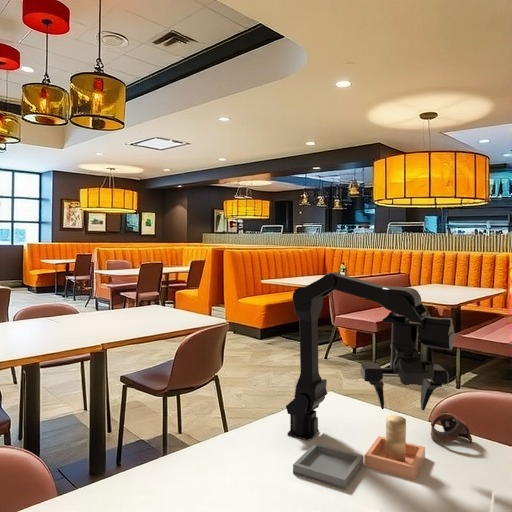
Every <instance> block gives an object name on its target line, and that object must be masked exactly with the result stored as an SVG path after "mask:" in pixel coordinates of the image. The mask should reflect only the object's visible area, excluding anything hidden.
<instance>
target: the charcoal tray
mask: <svg viewBox="0 0 512 512" xmlns="http://www.w3.org/2000/svg"><path fill="white" fill-rule="evenodd" d="M363 465H364V455H363V454H360V453H355V452H352V451H350V450H349V451H348V450H344V449H341V448H337V447H333V446H328V445H326V444H325V445H324V444H322V443H317V442H314V443H313V444H312V445H311V446H310V447H309V448H308V449H307V450H306V451H305V452H304V453H303V454H302V455H301V456H300V457H299V458H298V459H297V460H296V461H295V462H294V463H293V464H292V474H293V475H297V476H300V477H304V478H305V479H309V480H313V481H316V482H319V483H322V484H325V485H329V486H331V487H336V488H338V489H341V490H346V489H347V488H348V486H349V485H350V484H351V482H353V481H352V480H353V479H354V478H355V476H356V475H357V474H358V473H359V471H360V470H361V468H362V467H363Z"/></svg>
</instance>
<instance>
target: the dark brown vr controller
mask: <svg viewBox="0 0 512 512" xmlns="http://www.w3.org/2000/svg"><path fill="white" fill-rule="evenodd" d="M438 422H439V423H440V424H441V425H442V430H443V431H440V430H438V429H436V428H435V427H436V424H438ZM430 425H431V426H430V427H431V429H430V437H431V440H432V441H434V442H439V443H446V442H447V443H450V442H454V441H455V442H456V441H457V442H461V439H460V438H464V439H467V440H468V441H469V443H470V444H471V445H473V437H472V435H471V433H470V432H471V431H470V428H469V426H468V425H467V423H466V422H465V421H464V420H462V419H461V418H460V417H458V416H457V415H456V414H454V413H450V412H449V411H447V410H444V411H442V412H440V414H438V415H436V416H434V418H433V419H432V420H431V423H430Z"/></svg>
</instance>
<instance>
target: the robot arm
mask: <svg viewBox="0 0 512 512" xmlns="http://www.w3.org/2000/svg"><path fill="white" fill-rule="evenodd" d="M334 291H338V292H342V293H345V294H349V295H351V296H354V297H358V298H362V299H364V300H368V301H372V302H374V303H377V304H378V305H380V306H381V307H383V308H384V309H385V310H388V311H390V312H389V313H388V314H387V316H386V317H384V318H383V319H382V322H384V323H390V324H391V339H390V340H391V343H390V345H389V347H390V349H391V350H390V361H389V366H390V367H381V366H380V364H379V363H378V362H363V363H362V364H361V365H360V375H361V377H362V379H363V380H364V382H367V383H368V384H370V385H371V386H373V388H374V391H375V393H376V395H377V399H378V402H379V405H380V408H381V410H384V408H385V398H384V397H385V396H384V385H385V384H384V382H383V381H382V380H383V377H391V378H392V377H395V378H396V377H397V378H399V381H400V383H401V384H402V385H404V386H411V385H412V386H415V385H417V386H420V409H421V411H425V410H426V407H427V406H428V403H429V400H430V397H431V396H432V394H433V393H434V391H435V390H436V389H437V388H440V387H443V384H449V382H450V379H449V377H450V375H449V372H448V371H447V370H446V369H445V368H444V367H442V366H441V365H440V364H435V363H433V362H432V361H427V360H426V361H423V360H422V361H421V360H420V353H419V352H420V351H419V349H418V344H419V343H418V341H419V342H420V343H421V344H422V345H423V347H426V348H427V347H428V348H436V349H441V350H447V351H452V350H453V348H454V345H455V344H454V343H455V337H456V336H455V335H456V332H455V330H454V324H453V318H452V317H451V318H450V317H434V316H431V314H430V313H429V311H428V310H427V308H426V306H424V304H423V302H422V297H421V294H420V292H419V291H418V290H416V289H414V288H413V287H406V286H404V287H403V286H391V285H389V286H388V285H381V284H378V283H374V282H370V281H366V280H363V279H359V278H355V277H351V276H349V275H346V274H345V275H344V274H342V273H339V272H337V271H335V272H334V271H333V272H328V273H325V275H323V276H322V277H321V278H319V279H316V280H314V281H313V282H311V283H310V284H307V285H304V286H300V287H298V288H296V289H295V290H294V291H293V293H292V302H293V308H294V309H293V310H294V312H295V314H296V316H297V318H298V320H299V356H300V357H299V360H300V362H299V363H300V364H299V365H300V366H299V367H300V368H299V373H300V374H299V376H298V379H297V383H296V385H295V390H294V391H295V392H294V398H293V399H292V400H291V401H290V402H289V403H288V404H286V405H285V408H286V412H287V414H288V415H290V416H289V417H290V418H289V419H290V421H289V422H290V425H289V426H290V427H289V429H290V430H289V431H288V432H287V433H286V434H287V436H291V437H294V438H297V439H302V440H305V441H311V439H313V438H314V437H315V436H316V435H317V434H318V433H319V431H320V430H319V418H318V416H317V410H316V409H318V408H319V407H320V406H319V405H320V404H321V403H323V401H325V399H326V396H327V395H328V394H329V393H328V391H327V383H328V382H327V379H323V378H322V377H321V375H320V373H319V324H318V322H319V317H320V314H321V311H322V309H323V304H324V303H323V302H324V298H326V297H327V296H329V295H330V294H331V293H332V292H334Z"/></svg>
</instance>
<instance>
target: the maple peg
mask: <svg viewBox="0 0 512 512" xmlns="http://www.w3.org/2000/svg"><path fill="white" fill-rule="evenodd" d="M406 434H407V419H406V418H405V417H403V416H400V415H396V414H395V415H393V414H391V415H390V414H389V415H387V416H386V417H385V438H386V458H388V459H392V460H396V461H399V462H403V463H405V453H406V443H407V441H406V440H407V439H406V437H407V435H406Z"/></svg>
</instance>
